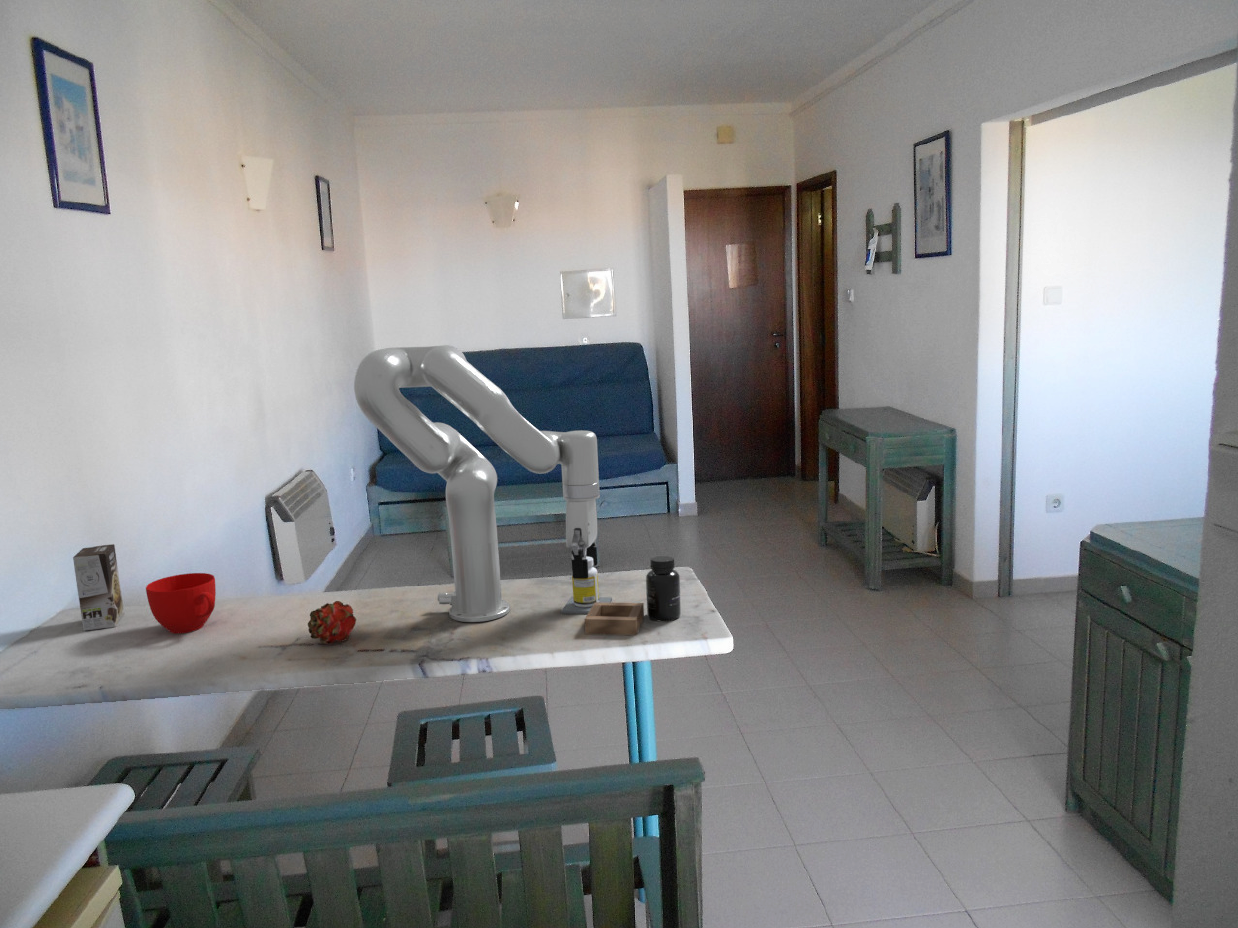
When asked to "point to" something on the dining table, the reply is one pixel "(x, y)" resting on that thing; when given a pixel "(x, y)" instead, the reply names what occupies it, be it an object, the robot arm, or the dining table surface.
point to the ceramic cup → (182, 601)
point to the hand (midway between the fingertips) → (585, 571)
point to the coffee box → (98, 587)
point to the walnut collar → (614, 618)
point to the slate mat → (572, 608)
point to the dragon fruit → (331, 622)
